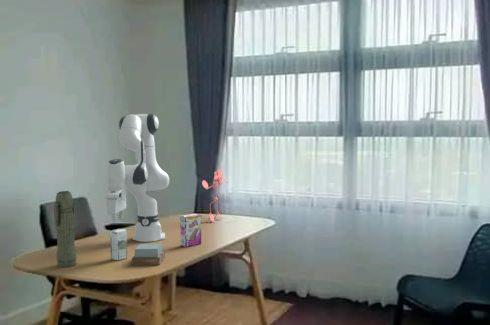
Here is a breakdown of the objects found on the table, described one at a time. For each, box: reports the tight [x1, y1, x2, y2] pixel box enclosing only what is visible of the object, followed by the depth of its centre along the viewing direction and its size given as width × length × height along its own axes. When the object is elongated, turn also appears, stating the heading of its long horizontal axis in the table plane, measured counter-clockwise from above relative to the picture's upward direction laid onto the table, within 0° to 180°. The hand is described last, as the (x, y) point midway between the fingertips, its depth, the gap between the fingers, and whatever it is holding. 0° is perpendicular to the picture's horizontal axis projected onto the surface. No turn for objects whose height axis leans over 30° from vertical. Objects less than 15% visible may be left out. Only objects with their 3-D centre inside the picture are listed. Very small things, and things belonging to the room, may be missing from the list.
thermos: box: [53, 190, 78, 268], centre depth 260 cm, size 9×12×35 cm
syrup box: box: [109, 228, 128, 261], centre depth 270 cm, size 6×6×14 cm
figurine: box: [201, 168, 229, 224], centre depth 365 cm, size 15×26×35 cm, turn 152°
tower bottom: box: [131, 250, 166, 266], centre depth 265 cm, size 13×13×4 cm
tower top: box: [134, 243, 163, 257], centre depth 265 cm, size 11×11×4 cm
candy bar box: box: [179, 213, 202, 248], centre depth 298 cm, size 11×5×16 cm, turn 135°
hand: (117, 220), depth 269 cm, fingers open, 8 cm apart
